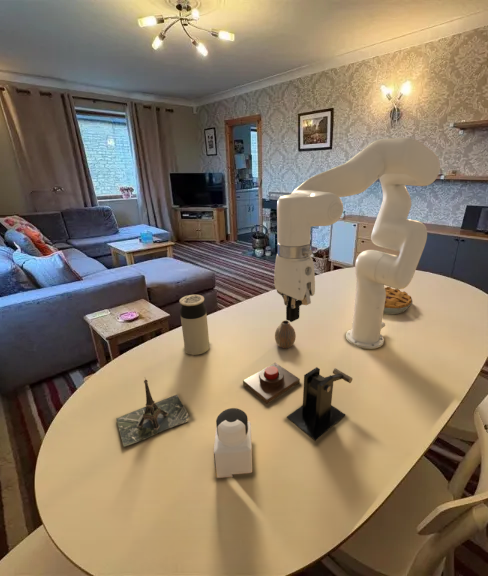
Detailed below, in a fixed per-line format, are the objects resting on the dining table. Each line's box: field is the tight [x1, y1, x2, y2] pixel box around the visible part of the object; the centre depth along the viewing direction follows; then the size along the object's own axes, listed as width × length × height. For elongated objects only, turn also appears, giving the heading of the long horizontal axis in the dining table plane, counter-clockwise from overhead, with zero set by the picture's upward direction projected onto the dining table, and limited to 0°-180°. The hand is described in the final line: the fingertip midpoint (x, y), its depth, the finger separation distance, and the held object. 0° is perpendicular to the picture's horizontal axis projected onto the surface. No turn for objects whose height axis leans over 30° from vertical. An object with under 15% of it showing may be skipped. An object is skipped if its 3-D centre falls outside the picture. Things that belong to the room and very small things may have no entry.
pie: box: [383, 286, 413, 315], centre depth 132 cm, size 22×22×5 cm
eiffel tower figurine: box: [116, 378, 191, 447], centre depth 71 cm, size 15×10×13 cm
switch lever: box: [310, 368, 353, 390], centre depth 73 cm, size 12×5×2 cm, turn 133°
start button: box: [264, 365, 278, 379], centre depth 83 cm, size 4×4×2 cm
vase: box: [274, 320, 297, 349], centre depth 102 cm, size 7×7×9 cm
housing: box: [242, 362, 301, 404], centre depth 84 cm, size 12×10×4 cm
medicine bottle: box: [213, 407, 253, 479], centre depth 61 cm, size 7×7×12 cm
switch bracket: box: [286, 366, 346, 442], centre depth 71 cm, size 11×9×13 cm
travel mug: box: [178, 294, 210, 356], centre depth 98 cm, size 8×8×18 cm
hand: (292, 319), depth 79 cm, fingers closed
